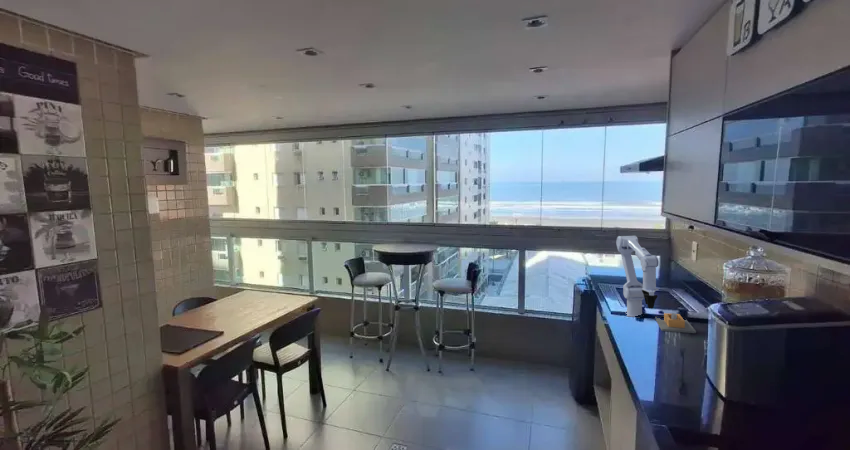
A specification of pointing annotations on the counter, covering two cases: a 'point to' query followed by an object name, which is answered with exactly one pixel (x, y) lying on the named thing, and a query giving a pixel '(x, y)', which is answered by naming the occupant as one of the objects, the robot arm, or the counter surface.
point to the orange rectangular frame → (674, 321)
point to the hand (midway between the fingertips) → (649, 306)
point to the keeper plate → (665, 327)
